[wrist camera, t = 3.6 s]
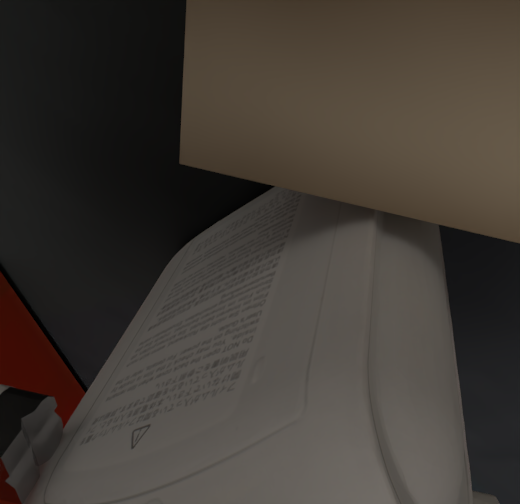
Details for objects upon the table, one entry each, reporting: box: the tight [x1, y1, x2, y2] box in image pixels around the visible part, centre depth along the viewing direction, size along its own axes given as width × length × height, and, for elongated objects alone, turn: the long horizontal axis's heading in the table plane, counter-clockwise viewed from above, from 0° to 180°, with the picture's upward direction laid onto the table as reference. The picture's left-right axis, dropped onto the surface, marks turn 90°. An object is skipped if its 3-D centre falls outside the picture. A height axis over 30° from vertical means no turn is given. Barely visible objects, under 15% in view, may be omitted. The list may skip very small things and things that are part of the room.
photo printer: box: [23, 186, 473, 504], centre depth 13 cm, size 10×4×12 cm, turn 129°
